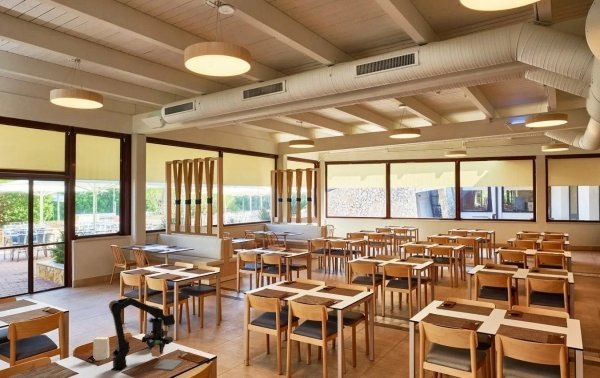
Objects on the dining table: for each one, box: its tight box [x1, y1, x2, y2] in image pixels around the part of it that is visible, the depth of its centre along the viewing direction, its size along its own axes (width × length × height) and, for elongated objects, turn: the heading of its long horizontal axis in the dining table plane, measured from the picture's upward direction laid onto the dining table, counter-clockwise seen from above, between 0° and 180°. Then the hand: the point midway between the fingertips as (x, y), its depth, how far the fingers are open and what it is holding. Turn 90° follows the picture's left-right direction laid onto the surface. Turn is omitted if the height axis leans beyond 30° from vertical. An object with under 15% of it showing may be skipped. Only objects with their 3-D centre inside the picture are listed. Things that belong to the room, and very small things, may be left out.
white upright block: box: [92, 336, 110, 361], centre depth 254 cm, size 9×9×12 cm
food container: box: [144, 332, 164, 350], centre depth 268 cm, size 12×6×10 cm, turn 112°
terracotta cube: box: [150, 345, 164, 358], centre depth 251 cm, size 5×5×5 cm
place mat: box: [153, 358, 184, 371], centre depth 241 cm, size 12×12×1 cm
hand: (157, 353), depth 251 cm, fingers closed on terracotta cube, 5 cm apart
